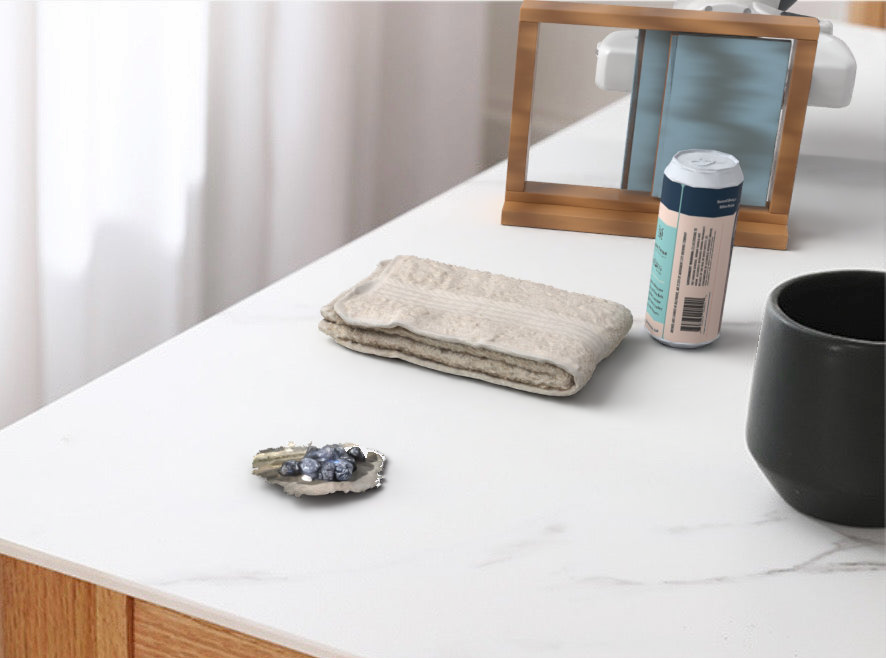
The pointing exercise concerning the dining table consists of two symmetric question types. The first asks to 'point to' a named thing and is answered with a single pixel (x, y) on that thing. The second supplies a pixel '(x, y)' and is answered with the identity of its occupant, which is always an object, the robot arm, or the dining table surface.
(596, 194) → the window frame
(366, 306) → the washcloth
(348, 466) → the blueberries
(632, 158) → the window sash
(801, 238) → the dining table surface
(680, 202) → the beer can
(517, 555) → the dining table surface
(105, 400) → the dining table surface
